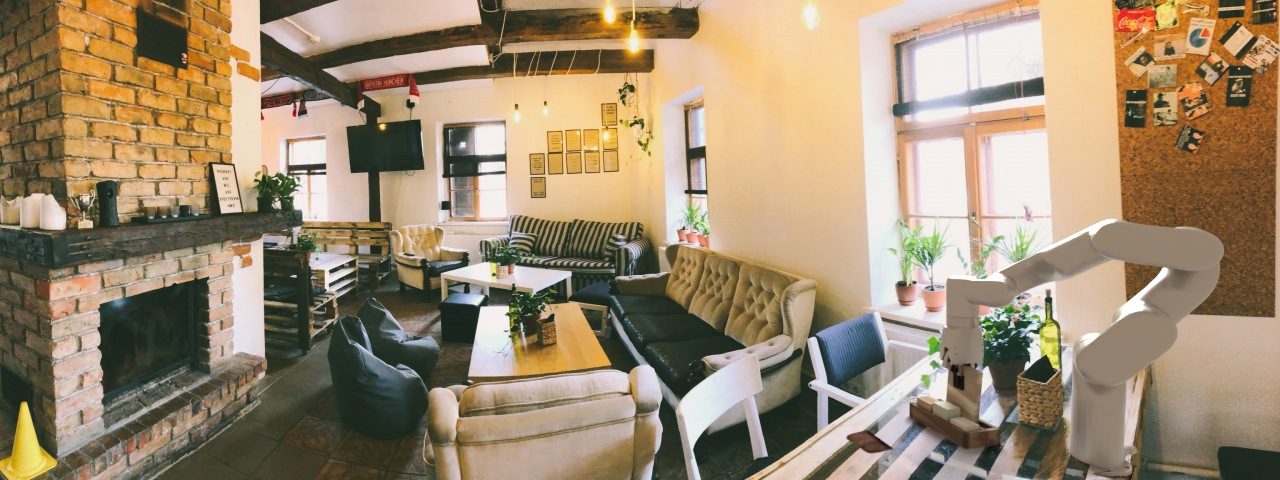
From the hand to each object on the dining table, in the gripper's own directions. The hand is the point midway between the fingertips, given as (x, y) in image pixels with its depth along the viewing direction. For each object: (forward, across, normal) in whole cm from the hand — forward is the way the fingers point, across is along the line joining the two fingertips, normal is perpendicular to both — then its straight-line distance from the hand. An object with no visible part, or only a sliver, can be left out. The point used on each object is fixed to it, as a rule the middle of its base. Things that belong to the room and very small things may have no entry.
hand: (962, 387), depth 136 cm
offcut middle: (+11, +5, 0) cm, 12 cm away
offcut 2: (+12, +5, +6) cm, 14 cm away
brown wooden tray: (+13, +4, 0) cm, 13 cm away
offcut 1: (+11, +5, -6) cm, 14 cm away
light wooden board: (+9, 0, 0) cm, 9 cm away
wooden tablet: (+14, +18, -3) cm, 23 cm away
